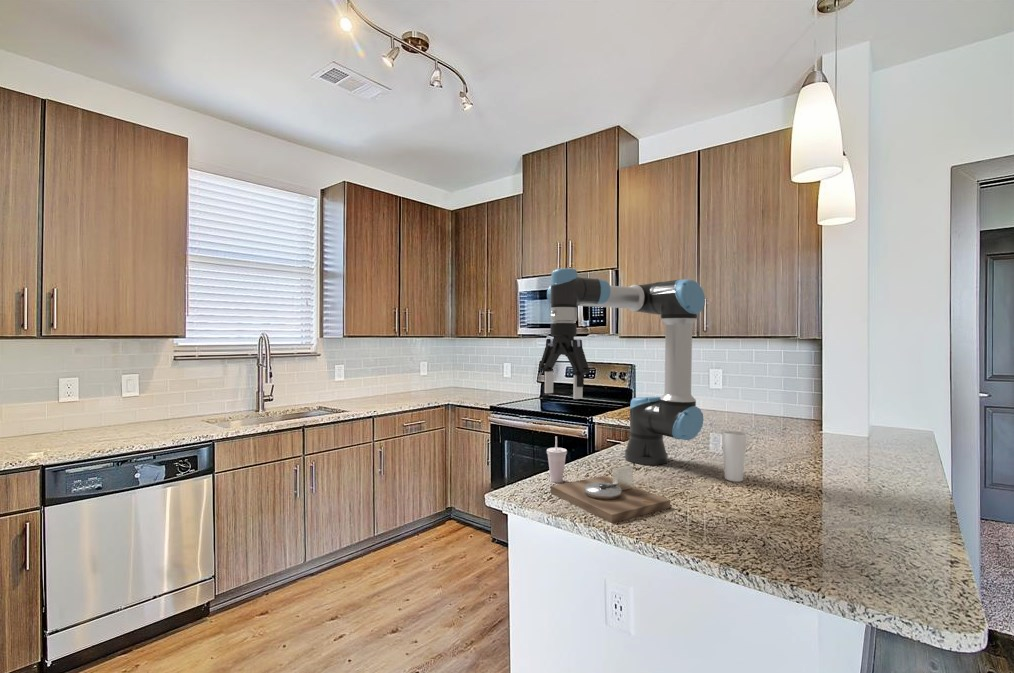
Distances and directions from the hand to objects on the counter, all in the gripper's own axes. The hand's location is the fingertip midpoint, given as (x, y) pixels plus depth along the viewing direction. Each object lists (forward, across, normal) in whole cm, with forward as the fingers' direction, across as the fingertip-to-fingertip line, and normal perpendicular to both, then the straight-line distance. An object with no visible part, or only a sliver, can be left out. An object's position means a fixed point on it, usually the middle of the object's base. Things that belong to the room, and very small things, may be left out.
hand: (562, 395), depth 139 cm
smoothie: (+28, -9, +5) cm, 30 cm away
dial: (+26, +12, +8) cm, 29 cm away
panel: (+28, +12, +7) cm, 31 cm away
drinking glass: (+28, +18, +55) cm, 64 cm away
